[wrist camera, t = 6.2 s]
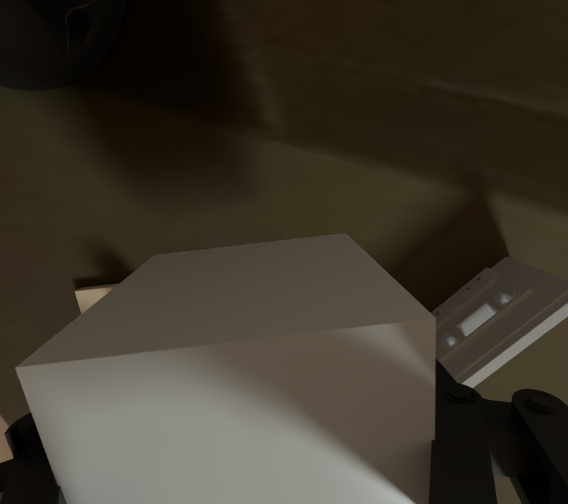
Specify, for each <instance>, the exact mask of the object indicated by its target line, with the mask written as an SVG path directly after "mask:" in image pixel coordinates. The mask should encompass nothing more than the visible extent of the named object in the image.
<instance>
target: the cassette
mask: <svg viewBox="0 0 568 504" xmlns="http://www.w3.org/2000/svg"><path fill="white" fill-rule="evenodd" d="M431 314H432V315H433V316H434V317H435V318H436V358H437V359H438V360H439V362H440V363H441V364H442V365H443V366H444V368H445V369H446V370H447V371H448V372H449V374H450V375H451V376H452V377H453V378H454V379H455V381H456V382H457V383H460V384H464V385H467V386H469V387H471V388H473V387H474V386H476V385H477V384H478V383H480V382H481V381H482V380H484V379H485V378H486V377H488V376H489V375H490V374H492V373H493V372H494V371H496V370H497V369H498V368H500V367H501V366H502V365H504V364H505V363H506V362H508V361H509V360H510V359H512V358H513V357H514V356H516V355H517V354H518V353H519V352H521V351H522V350H523V349H525V348H526V347H527V346H529V345H530V344H531V343H533V342H534V341H535V340H537V339H538V338H539V337H541V336H542V335H543V334H545V333H546V332H547V331H549V330H550V329H551V328H553V327H554V326H555V325H557V324H558V323H559V322H560V321H562V320H563V319H564V318H566V317H567V316H568V280H565V279H563V278H560V277H558V276H555V275H553V274H551V273H548V272H546V271H543V270H541V269H538V268H536V267H533V266H531V265H528V264H526V263H523V262H521V261H518V260H516V259H513V258H511V257H505V258H503V259H502V260H501V261H500V262H498V263H497V264H496V265H495V266H493V267H492V268H491V269H488V268H485V269H484V270H483V271H481V272H480V273H479V274H478V275H477V276H475V277H474V278H473V279H472V280H470V281H469V282H468V283H467V284H466V285H464V286H463V287H462V288H461V289H459V290H458V291H457V292H456V293H455V294H453V295H452V296H451V297H450V298H448V299H447V300H446V301H445V302H444V303H442V304H441V305H440V306H439V307H437V308H436V309H435V310H434V311H433V312H431Z"/></svg>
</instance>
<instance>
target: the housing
mask: <svg viewBox="0 0 568 504" xmlns="http://www.w3.org/2000/svg"><path fill="white" fill-rule="evenodd" d="M435 357H436V318H435V317H434V316H433V315H432V314H431V313H430V312H429V311H428V310H427V309H426V308H425V307H424V306H423V305H421V304H420V303H419V302H418V301H417V300H416V299H415V298H414V297H413V296H412V295H411V294H410V293H409V292H408V291H407V290H406V289H404V288H403V287H402V286H401V285H400V284H399V283H398V282H397V281H396V280H395V279H394V278H393V277H392V276H391V275H390V274H389V273H387V272H386V271H385V270H384V269H383V268H382V267H381V266H380V265H379V264H378V263H377V262H376V261H375V260H374V259H373V258H372V257H370V256H369V255H368V254H367V253H366V252H365V251H364V250H363V249H362V248H361V247H360V246H359V245H358V244H357V243H356V242H355V241H353V240H352V239H351V238H350V237H349V236H348V235H347V234H346V233H342V234H333V235H325V236H316V237H307V238H299V239H290V240H281V241H273V242H264V243H255V244H246V245H238V246H229V247H220V248H212V249H203V250H194V251H186V252H177V253H168V254H160V255H154V256H153V257H152V258H151V259H149V260H148V261H147V262H146V263H144V264H143V265H142V266H141V267H139V268H138V269H137V270H136V271H134V272H133V273H132V274H131V275H129V276H128V277H127V278H126V279H125V280H123V281H122V282H121V283H120V284H118V285H117V286H116V287H115V288H113V289H112V290H111V291H110V292H108V293H107V294H106V295H105V296H103V297H102V298H101V299H100V300H98V301H97V302H96V303H95V304H94V305H92V306H91V307H90V308H89V309H87V310H86V311H85V312H84V313H82V314H81V315H80V316H79V317H77V318H76V319H75V320H74V321H72V322H71V323H70V324H69V325H67V326H66V327H65V328H64V329H62V330H61V331H60V332H59V333H58V334H56V335H55V336H54V337H53V338H51V339H50V340H49V341H48V342H46V343H45V344H44V345H43V346H41V347H40V348H39V349H38V350H36V351H35V352H34V353H33V354H31V355H30V356H29V357H28V358H27V359H25V360H24V361H23V362H22V363H20V364H19V365H18V366H17V367H15V369H16V371H17V374H18V377H19V380H20V383H21V385H22V388H23V391H24V394H25V396H26V399H27V402H28V405H29V408H30V410H31V413H32V416H33V419H34V422H35V424H36V427H37V430H38V433H39V435H40V438H41V441H42V444H43V447H44V449H45V452H46V455H47V458H48V460H49V463H50V466H51V469H52V472H53V474H54V477H55V480H56V483H57V485H58V486H61V489H62V492H63V495H64V498H65V500H66V503H67V504H429V485H430V465H431V445H432V440H435Z"/></svg>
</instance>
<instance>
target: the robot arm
mask: <svg viewBox="0 0 568 504" xmlns="http://www.w3.org/2000/svg"><path fill="white" fill-rule="evenodd" d="M126 3H127V0H0V86H4V87H8V88H13V89H19V90H45V89H52V88H56V87H60V86H63V85H66V84H68V83H70V82H73V81H75V80H76V79H78V78H80V77H82V76H83V75H85V74H86V73H88V72H89V71H90V70H91V69H93V68H94V67H95V66H96V65H97V64H98V63H99V62H100V61H101V59H102V58H103V57H104V56H105V55H106V53H107V52H108V50H109V49H110V47H111V46H112V44H113V42H114V40H115V38H116V36H117V34H118V32H119V29H120V27H121V24H122V21H123V17H124V13H125V8H126ZM5 436H6V439H7V441H8V444H9V447H10V449H11V451H12V454H13V459H11V460H8V461H5V462H2V463H0V504H67V503H66V500H65V498H64V495H63V492H62V489H61V486H58V485H57V483H56V480H55V477H54V474H53V472H52V469H51V466H50V463H49V460H48V458H47V455H46V452H45V449H44V447H43V444H42V441H41V438H40V435H39V433H38V430H37V427H36V424H35V422H34V419H33V416H32V413H29V414H27V415H25V416H23V417H22V418H20V419H18V420H17V421H15V422H14V423H13V424H12V425H11V426H10V427H9V428H8V429H7V431H6V432H5ZM493 474H495V475H501V476H507V477H509V478H510V480H511V482H512V484H513V486H514V488H515V490H516V492H517V494H518V497H519V499H520V501H521V503H522V504H568V406H567V405H566V404H565V403H564V402H562V401H561V400H560V399H559V398H557V397H555V396H553V395H551V394H549V393H546V392H543V391H540V390H533V389H522V390H518V391H516V392H514V394H513V396H512V402H503V401H493V400H487V399H483V398H482V397H481V395H480V394H479V393H478V392H477V391H476V390H475V389H473V388H471V387H469V386H467V385H464V384H460V383H457V382H456V381H455V379H454V378H453V377H452V376H451V375H450V374H449V372H448V371H447V370H446V369H445V368H444V366H443V365H442V364H441V363H440V362H439V360H438V359H437V358H436V357H435V440H432V445H431V465H430V485H429V504H497V498H496V491H495V484H494V476H493Z"/></svg>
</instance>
